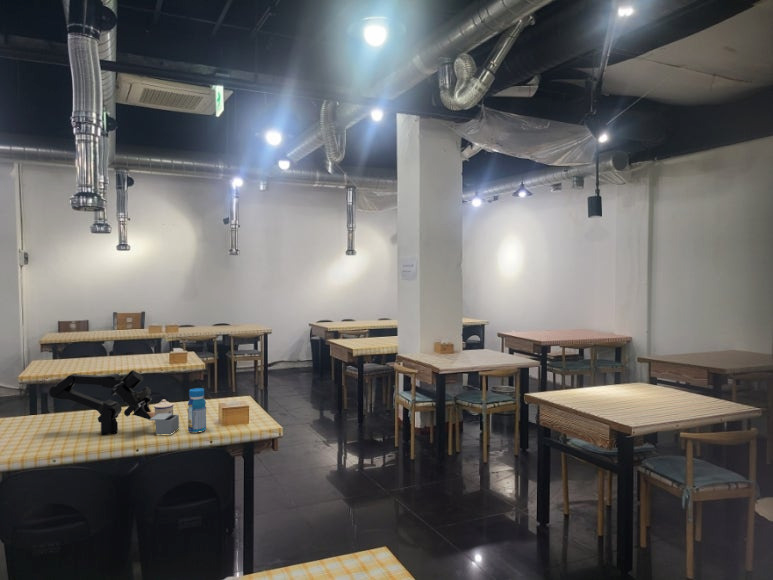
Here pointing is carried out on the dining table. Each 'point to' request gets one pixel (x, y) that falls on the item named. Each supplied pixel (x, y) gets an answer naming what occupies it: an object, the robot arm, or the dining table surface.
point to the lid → (159, 416)
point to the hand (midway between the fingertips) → (151, 418)
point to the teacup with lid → (163, 408)
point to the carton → (167, 425)
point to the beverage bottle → (196, 410)
